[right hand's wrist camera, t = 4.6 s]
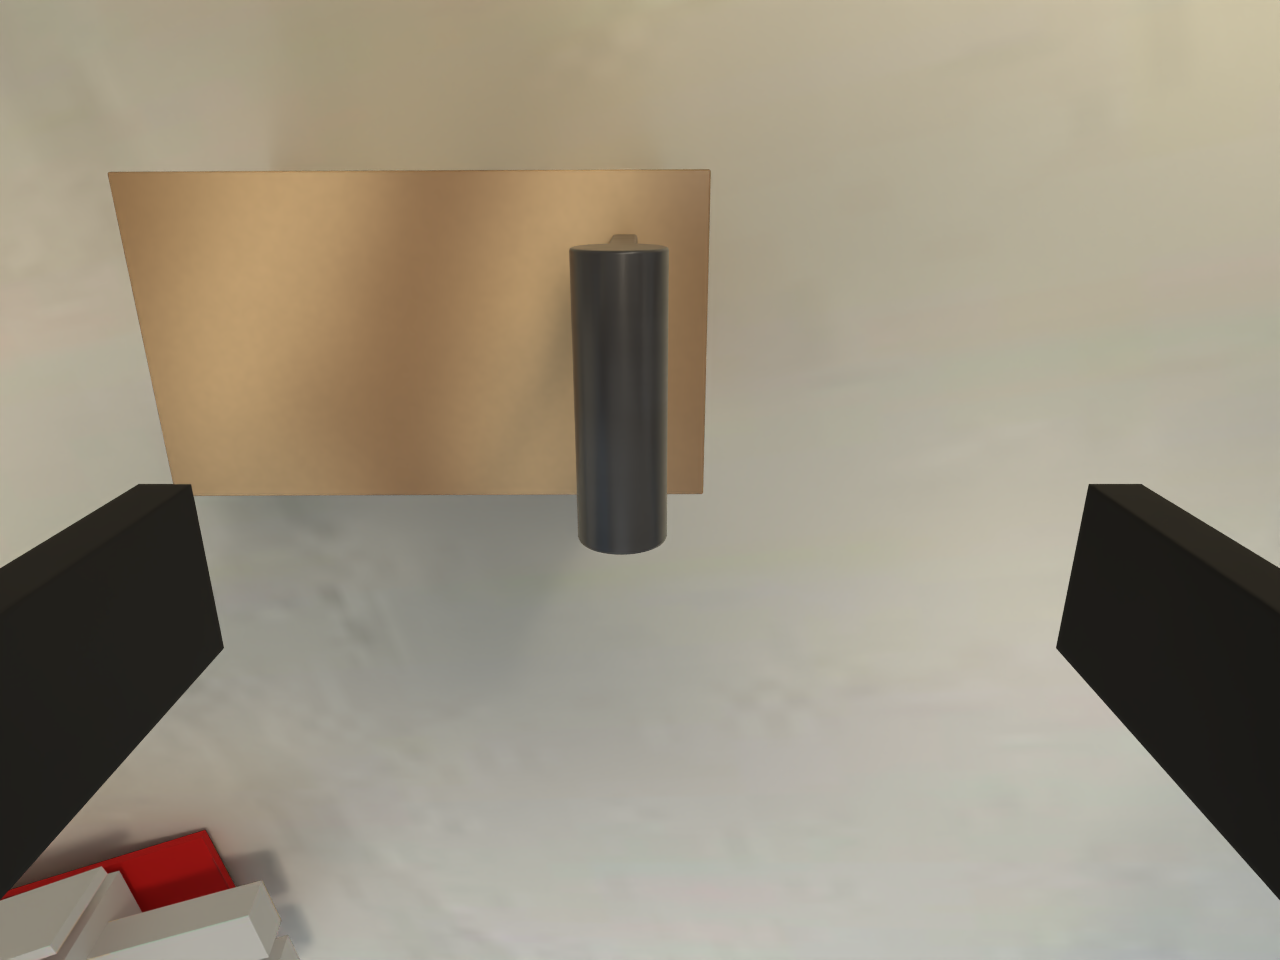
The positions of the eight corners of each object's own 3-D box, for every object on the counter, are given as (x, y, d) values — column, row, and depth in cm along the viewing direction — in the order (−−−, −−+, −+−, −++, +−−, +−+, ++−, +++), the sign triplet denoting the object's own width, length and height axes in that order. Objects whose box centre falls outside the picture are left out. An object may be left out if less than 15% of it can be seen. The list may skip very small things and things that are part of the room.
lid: (708, 169, 23) (744, 164, 15) (701, 485, 26) (727, 617, 18) (124, 172, 23) (-146, 168, 15) (188, 486, 26) (-7, 619, 18)
